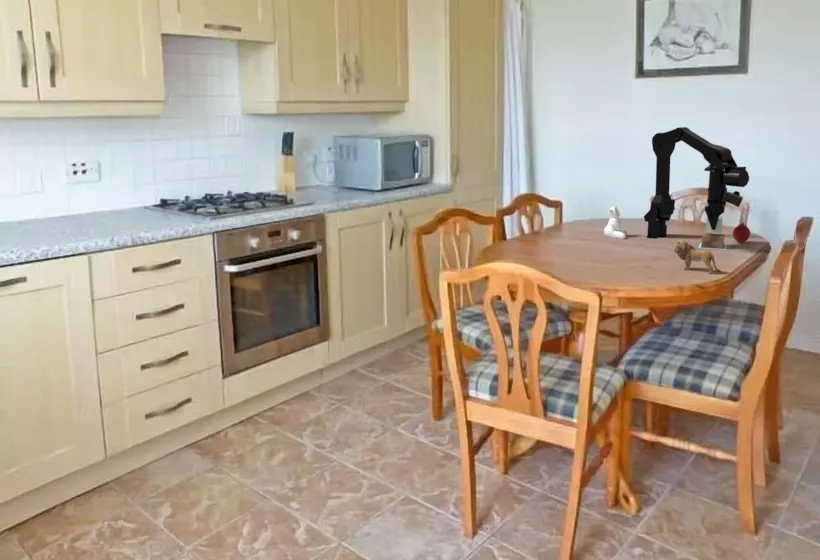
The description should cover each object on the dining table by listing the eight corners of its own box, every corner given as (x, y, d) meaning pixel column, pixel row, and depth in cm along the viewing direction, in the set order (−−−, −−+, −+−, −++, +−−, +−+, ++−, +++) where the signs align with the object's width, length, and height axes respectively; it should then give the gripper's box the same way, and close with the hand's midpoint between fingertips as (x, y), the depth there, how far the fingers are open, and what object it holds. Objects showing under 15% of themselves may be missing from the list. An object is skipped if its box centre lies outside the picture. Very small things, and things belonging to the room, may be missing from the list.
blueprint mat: (693, 249, 255) (693, 248, 255) (695, 243, 266) (695, 242, 265) (730, 251, 250) (730, 250, 250) (731, 245, 261) (731, 244, 260)
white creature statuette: (625, 239, 277) (626, 208, 274) (602, 238, 279) (603, 207, 277) (627, 235, 285) (628, 204, 282) (604, 234, 288) (605, 204, 285)
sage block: (705, 232, 255) (706, 218, 254) (706, 229, 260) (707, 216, 258) (721, 232, 253) (722, 218, 252) (721, 230, 258) (722, 216, 256)
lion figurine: (669, 269, 228) (671, 241, 226) (675, 266, 232) (677, 238, 230) (718, 275, 219) (720, 246, 217) (723, 271, 223) (725, 243, 221)
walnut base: (701, 247, 256) (702, 236, 255) (702, 244, 262) (703, 233, 261) (722, 248, 253) (723, 237, 252) (723, 245, 259) (724, 234, 258)
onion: (751, 245, 259) (753, 223, 258) (734, 245, 261) (735, 223, 259) (747, 242, 265) (749, 220, 263) (730, 242, 266) (732, 220, 264)
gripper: (742, 188, 241) (738, 234, 245) (743, 182, 257) (739, 225, 261) (706, 187, 245) (703, 232, 249) (709, 181, 262) (706, 223, 266)
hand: (713, 228), depth 256 cm, fingers closed on sage block, 5 cm apart
